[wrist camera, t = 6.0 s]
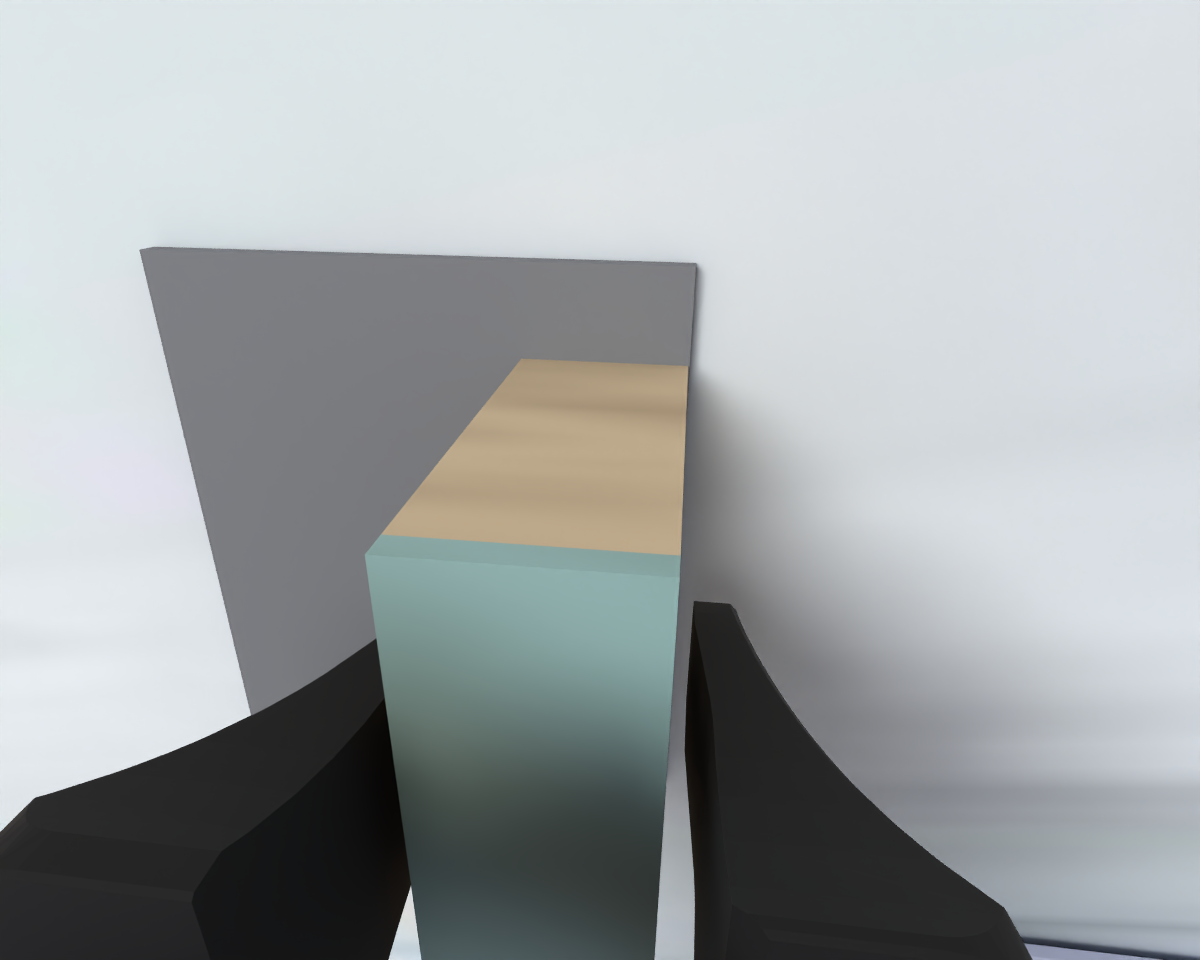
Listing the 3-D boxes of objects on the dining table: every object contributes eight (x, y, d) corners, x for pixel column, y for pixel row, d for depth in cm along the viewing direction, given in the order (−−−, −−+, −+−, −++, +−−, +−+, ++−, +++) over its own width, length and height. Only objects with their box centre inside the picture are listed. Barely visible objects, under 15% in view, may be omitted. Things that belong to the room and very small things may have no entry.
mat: (663, 778, 18) (662, 792, 17) (267, 738, 19) (259, 750, 18) (696, 262, 13) (696, 266, 12) (154, 246, 14) (138, 249, 13)
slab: (665, 716, 16) (646, 1076, 10) (533, 704, 17) (433, 1045, 10) (688, 366, 13) (679, 577, 7) (521, 358, 13) (364, 554, 7)
